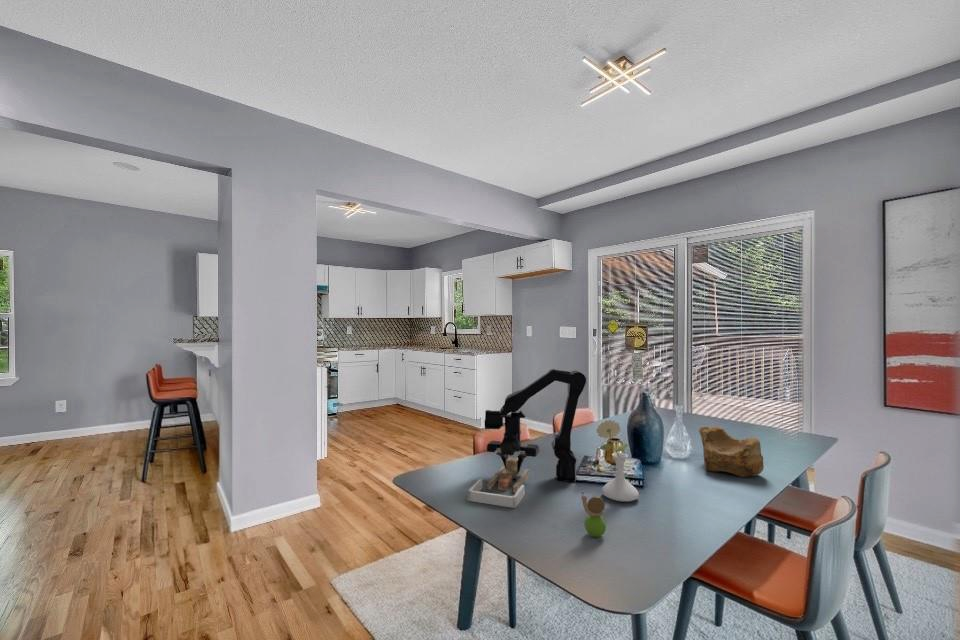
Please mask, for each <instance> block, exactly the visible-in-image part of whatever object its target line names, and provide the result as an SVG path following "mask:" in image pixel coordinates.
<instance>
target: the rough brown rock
mask: <svg viewBox="0 0 960 640" xmlns="http://www.w3.org/2000/svg"><path fill="white" fill-rule="evenodd" d="M698 433H699V435H700V437H701V443H702V449H703V451H702V452H703V455H702V456H703V462H704V465H705V466H704V469H705V470H706V471H708V472H726V473H730V474H733V475H734V476H738V477H741V478H749V477H754V476H755V477H756V476H757V475H760V474H761V473H762V472H763V471H764V468H765V467H764V456H763V455H762V449H761V448H762V447H761V442H760V440H759V439H757V438H753V437H747V438H745V439H739V438H735V437H732V436H731V435H729V434H728V433H727V432H726V431H725V429H724V428H722V427H719V426H712V427H709V426H701V427H699V430H698Z"/></svg>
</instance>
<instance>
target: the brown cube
mask: <svg viewBox="0 0 960 640" xmlns="http://www.w3.org/2000/svg"><path fill="white" fill-rule="evenodd" d="M501 478H505V479H509V487H511V486H512V485H513V479H512V475H508V474H506V473H504V475H503V476H502V477H501Z"/></svg>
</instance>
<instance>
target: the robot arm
mask: <svg viewBox="0 0 960 640" xmlns="http://www.w3.org/2000/svg"><path fill="white" fill-rule="evenodd" d="M555 382H559V383H564V384H567V397H566V400H565V405H564V410H563V414H562V418H561V423H560V428H559V431H558V433H557V434H556V433H553V437H552V438H553V439H552V442H551V443H550V444H551V446H552V447H551V448H552V450H553V453H554V456H555V458H557V459H558V460H557V463H556V465H555V467H556V468H555V475H556V480H557V481H561V482H562V481H563V482H571V483H575V482H576V480H577V478H576V479H575V477H576V475H577V458H576V455H575V454H574V451H572V450H571V446H572V443H571V440H572V439H571V434H572V429H573V424H574V422H575V421H574V420H575V416H576V411H577V408H578V407H577V406H578V403H579V402H578V401H579V398H580V396H581V394H582V392H583V391H584V389H585V387H586V384H587V377H586V375H585V374H583V373H582V372H581V371H579V370H571V371H567V370H560V369H559V370H558V369H555V368H551V369H549V370H548V371H547V372H546V373H544V374H543V375H541V376H540V377H539V378H537V379H536V380H534V381H533V382H532V383H530V384H528V385H527V386H526V387H524V388H522V389H520V390H516V391H514V392H512V393H510V394H508V395H507V396H506V397H505V399H504V404H503V405H502V407H500V410H490V409H486V410H485V413H484V414H485V417H484V429H485V430H501V429H502V427H504V433H503V438H502V440H501V441H500V440H491V441H489V442H488V444H486V452H489V453H495V452H496V453H495V454H496V455H498V456H499V457H500V458H501V460H502V462H503V466H505V469H506V460H507V459H508V458H509V456H514V455H515V453H516V452H517V453H519V454H518V455H517V458H518V468H517V469H518V473H519V474H520V471H521V468H522V465H523V463H524V461H525V458H527V457H534V458H535V457H537V455H539V453H540V447H539V445H538V444H530V443H528V444H527V445H526V446H521V445H522V441H521V434H522V430H521V419H525V418H526V414H525V413H524V412H523V411H522V409H521V408H522V407H523V406H524V405H525V404H526V402H527V401H528V400H530V398H532V397H534V396H535V395H536V394H538V393H539V392H541V391H543V389H545V388H547V387H548V386H550V385H551V384H553V383H555Z"/></svg>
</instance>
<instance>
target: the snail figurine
mask: <svg viewBox="0 0 960 640" xmlns="http://www.w3.org/2000/svg"><path fill="white" fill-rule="evenodd" d="M580 492H581V500H582V505H583V508H584V511H585V513H586V514H587V515H588V516H587V517H586V519H585V521H584V528H585V531H586V532H587V534H588V535H589V536H591V537H593V538H594V537H595V538H599V537H601V536H603V535H604V534H605V533H606V530H607V526H606V525H607V524H606V521H605V520H604V519H603V517H602V515H603V514H605V510H604V509H605V507H606V506H605V501H604V499H603V498H602V497H600V496H592V497H591V498H589V500H587V499H588V497H587V496H586V494H584V493H585V492H584V491H583V490H581V491H580Z"/></svg>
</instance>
